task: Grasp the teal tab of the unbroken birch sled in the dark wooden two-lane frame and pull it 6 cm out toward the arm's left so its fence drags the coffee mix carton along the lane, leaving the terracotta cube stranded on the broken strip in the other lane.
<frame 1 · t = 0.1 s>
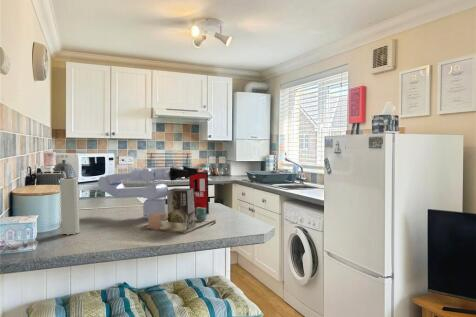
hand: (192, 172, 145), 22 cm above the table, tool horizontal, fingers open, 7 cm apart
sled: (188, 219, 138), point 3 cm above the table, slide at 0.0 cm
lane frame: (179, 227, 139), on the table
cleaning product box: (199, 211, 172), on the table
tall grey block: (72, 233, 132), on the table
coffee box: (182, 230, 134), resting in sled
terracotta cube: (157, 226, 137), point 1 cm above the table, touching lane frame
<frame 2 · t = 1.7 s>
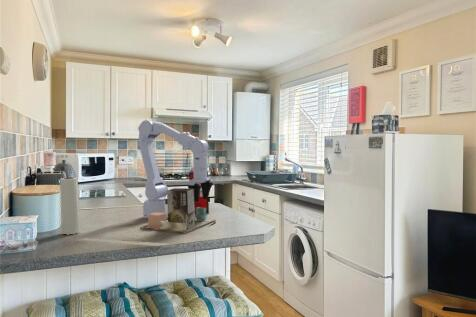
hand: (201, 200, 146), 9 cm above the table, tool pointing down, fingers open, 7 cm apart
nothing on the table moved.
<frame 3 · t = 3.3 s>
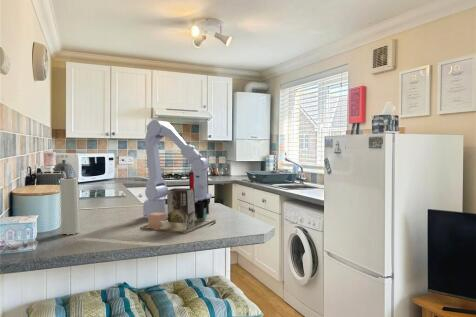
hand: (201, 217, 146), 2 cm above the table, tool pointing down, fingers closed on sled, 2 cm apart
sled: (188, 219, 138), point 3 cm above the table, slide at 0.0 cm, touching gripper
everything else where it was.
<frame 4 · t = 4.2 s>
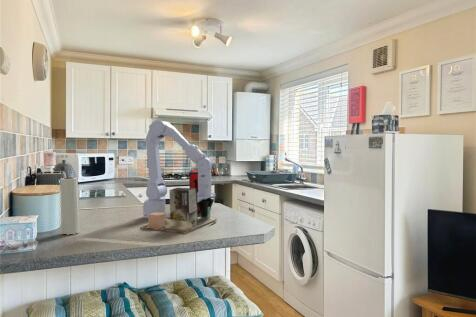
hand: (205, 216, 150), 2 cm above the table, tool pointing down, fingers closed, pressing on sled
sled: (192, 218, 141), point 3 cm above the table, slide at 3.3 cm, touching coffee box, gripper
coffee box: (184, 229, 135), resting in sled
everything else where it was.
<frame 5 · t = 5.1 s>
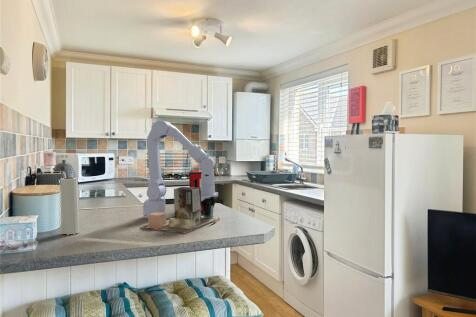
hand: (208, 215, 152), 2 cm above the table, tool pointing down, fingers closed, pressing on sled
sled: (196, 216, 143), point 3 cm above the table, slide at 6.0 cm, touching coffee box, gripper
coffee box: (188, 228, 137), resting in sled
everything else where it was.
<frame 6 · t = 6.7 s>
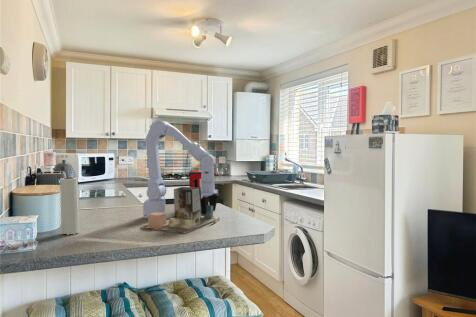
hand: (208, 212, 152), 3 cm above the table, tool pointing down, fingers open, 7 cm apart
sled: (196, 216, 143), point 3 cm above the table, slide at 6.0 cm
coffee box: (188, 228, 137), resting in sled
everything else where it was.
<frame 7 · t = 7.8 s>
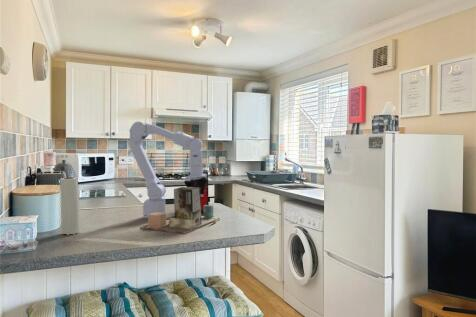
hand: (196, 195, 154), 10 cm above the table, tool pointing down, fingers open, 7 cm apart
nothing on the table moved.
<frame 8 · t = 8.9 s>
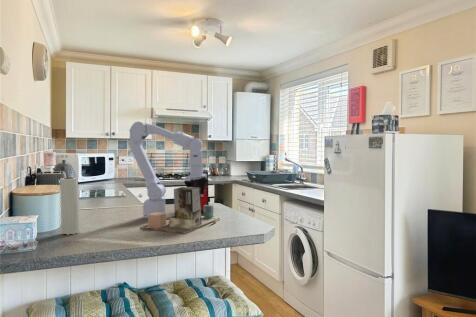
hand: (196, 195, 154), 10 cm above the table, tool pointing down, fingers open, 7 cm apart
nothing on the table moved.
at the end: sled slide at 6.0 cm; coffee box inside the target area (2.8 cm from its centre), resting in sled; coffee box tilted 0° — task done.
